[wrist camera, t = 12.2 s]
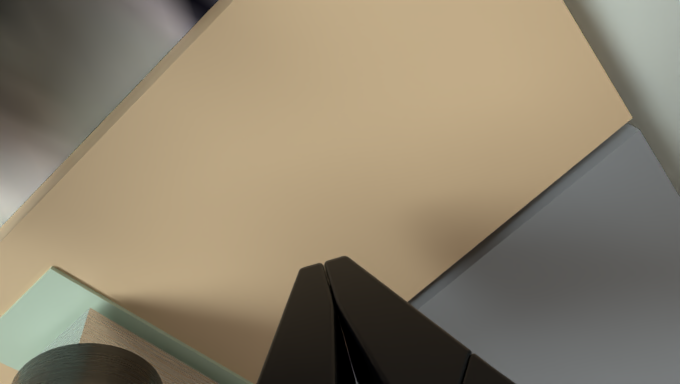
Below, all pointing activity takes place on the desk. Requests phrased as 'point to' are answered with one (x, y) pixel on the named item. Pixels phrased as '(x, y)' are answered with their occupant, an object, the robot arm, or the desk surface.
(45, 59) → the desk surface
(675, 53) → the desk surface
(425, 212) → the door board
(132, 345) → the door handle
